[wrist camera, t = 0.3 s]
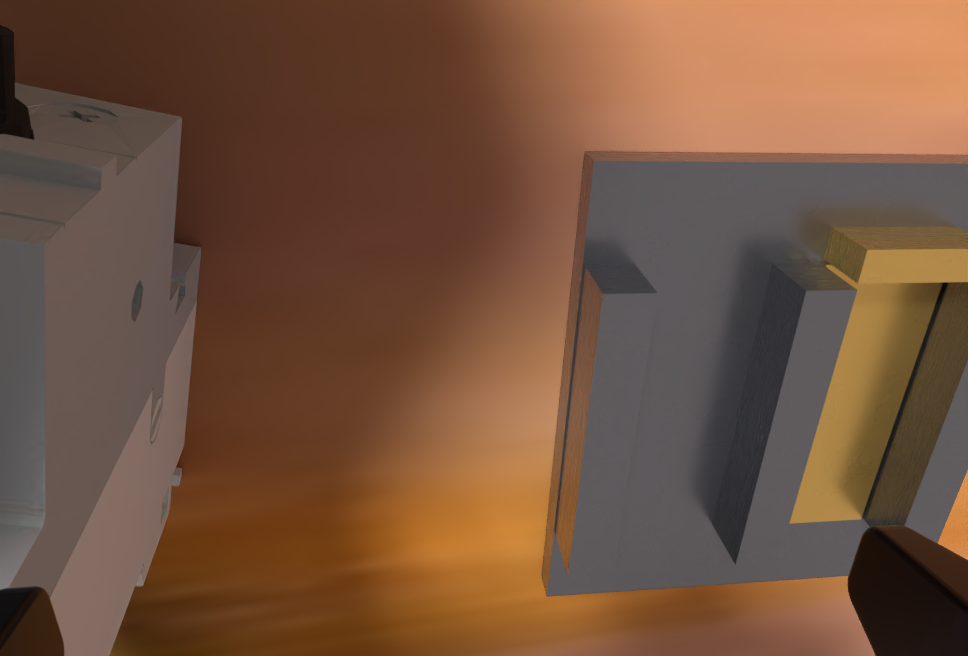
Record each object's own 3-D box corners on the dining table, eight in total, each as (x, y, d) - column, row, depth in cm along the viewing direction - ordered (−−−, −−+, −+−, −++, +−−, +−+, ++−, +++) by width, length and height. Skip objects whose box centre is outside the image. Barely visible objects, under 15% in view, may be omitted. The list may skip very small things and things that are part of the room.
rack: (861, 555, 30) (908, 614, 27) (541, 575, 28) (558, 641, 26) (1004, 155, 23) (1087, 184, 20) (584, 151, 21) (614, 182, 18)
